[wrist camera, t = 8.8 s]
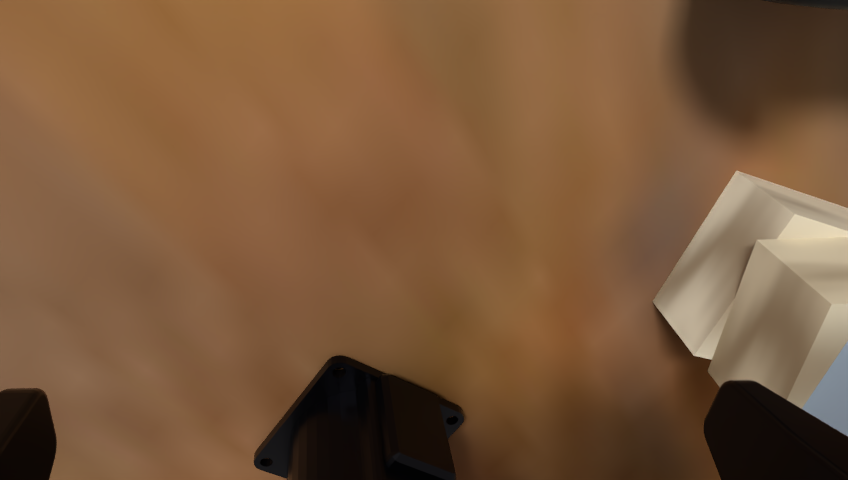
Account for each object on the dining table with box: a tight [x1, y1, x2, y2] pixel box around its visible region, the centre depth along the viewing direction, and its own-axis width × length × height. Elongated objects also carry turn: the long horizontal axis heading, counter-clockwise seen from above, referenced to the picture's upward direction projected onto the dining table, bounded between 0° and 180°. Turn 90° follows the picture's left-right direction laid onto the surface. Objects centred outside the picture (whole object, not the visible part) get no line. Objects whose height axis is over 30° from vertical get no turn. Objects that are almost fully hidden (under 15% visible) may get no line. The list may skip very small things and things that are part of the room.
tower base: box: [653, 171, 848, 360], centre depth 24 cm, size 6×6×4 cm
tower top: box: [708, 237, 848, 409], centre depth 21 cm, size 6×6×4 cm
